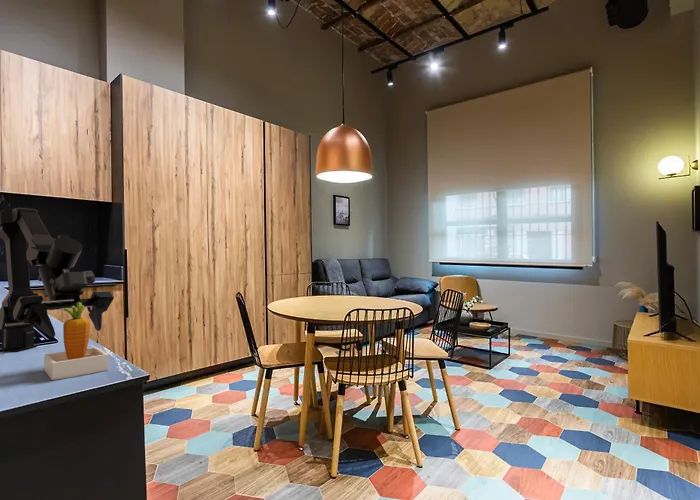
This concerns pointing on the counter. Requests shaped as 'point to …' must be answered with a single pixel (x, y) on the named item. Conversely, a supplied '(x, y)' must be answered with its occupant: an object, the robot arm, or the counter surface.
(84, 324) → the carrot
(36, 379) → the counter surface
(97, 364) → the beige open box
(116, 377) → the counter surface
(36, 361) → the counter surface
